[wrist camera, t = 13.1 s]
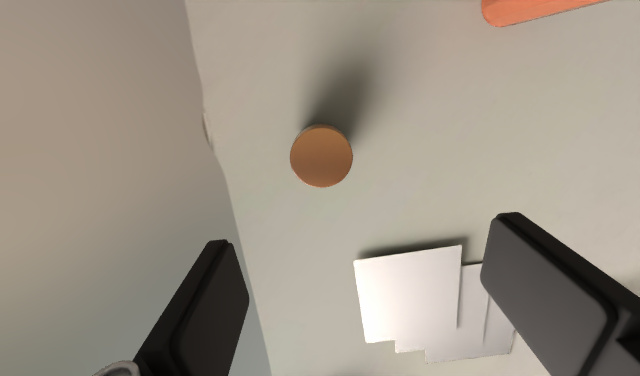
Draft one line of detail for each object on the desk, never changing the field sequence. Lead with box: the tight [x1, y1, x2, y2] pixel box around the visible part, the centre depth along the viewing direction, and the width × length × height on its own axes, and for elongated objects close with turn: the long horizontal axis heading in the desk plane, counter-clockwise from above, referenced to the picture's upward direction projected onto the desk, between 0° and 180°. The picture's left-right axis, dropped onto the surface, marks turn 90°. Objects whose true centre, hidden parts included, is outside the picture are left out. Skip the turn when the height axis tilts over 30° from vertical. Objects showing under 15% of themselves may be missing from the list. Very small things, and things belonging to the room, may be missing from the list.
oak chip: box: [290, 124, 353, 188], centre depth 25 cm, size 6×6×2 cm
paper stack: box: [353, 245, 514, 364], centre depth 38 cm, size 23×25×1 cm
